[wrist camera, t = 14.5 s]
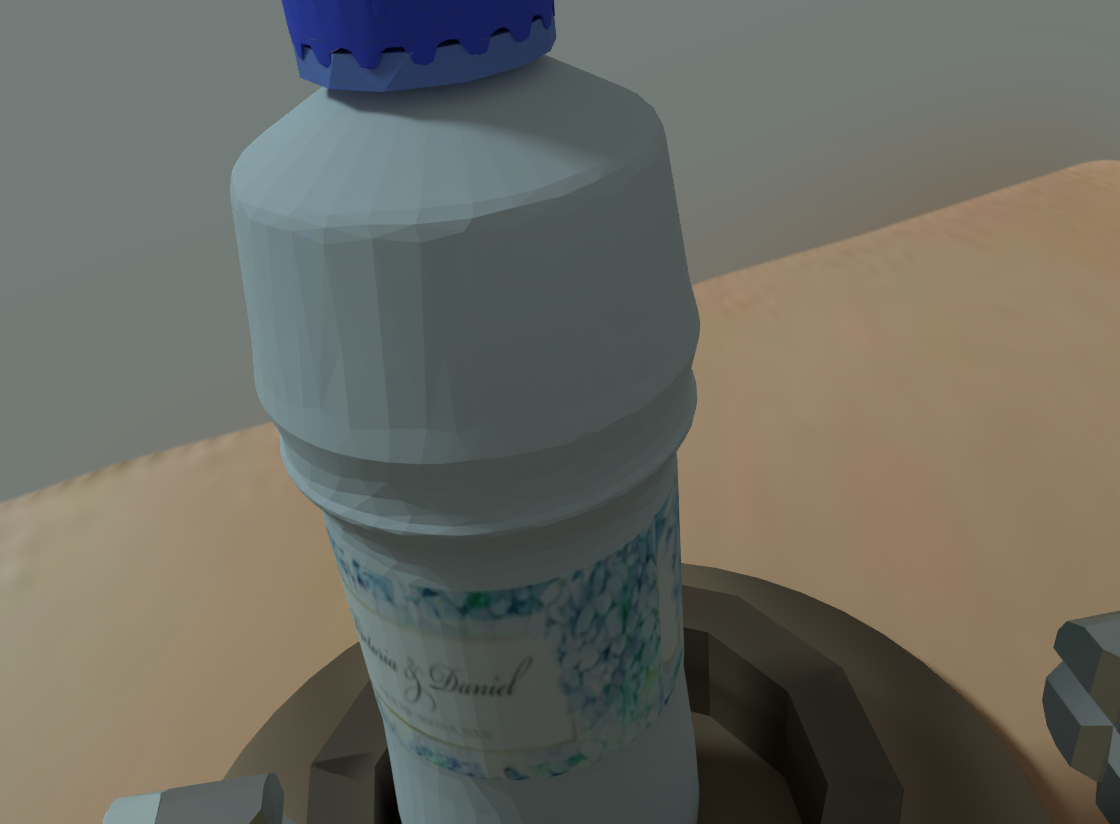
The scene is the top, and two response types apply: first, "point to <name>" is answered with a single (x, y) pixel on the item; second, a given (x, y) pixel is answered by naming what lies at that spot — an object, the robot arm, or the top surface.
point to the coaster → (718, 725)
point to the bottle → (485, 400)
